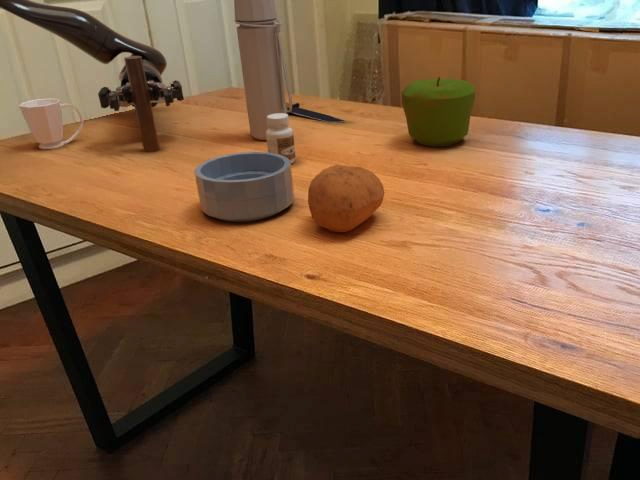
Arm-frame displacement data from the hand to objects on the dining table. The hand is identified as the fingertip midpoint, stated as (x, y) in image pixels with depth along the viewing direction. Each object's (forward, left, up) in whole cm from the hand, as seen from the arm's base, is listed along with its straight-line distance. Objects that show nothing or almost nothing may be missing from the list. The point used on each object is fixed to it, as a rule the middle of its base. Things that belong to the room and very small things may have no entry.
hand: (141, 102), depth 114 cm
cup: (-16, +14, -9) cm, 23 cm away
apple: (+48, -17, -9) cm, 52 cm away
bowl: (+11, -34, -9) cm, 37 cm away
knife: (+30, +14, -9) cm, 35 cm away
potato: (+22, -45, -9) cm, 51 cm away
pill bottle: (+20, -16, -9) cm, 27 cm away
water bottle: (+22, 0, -9) cm, 24 cm away
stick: (0, +2, -9) cm, 9 cm away
